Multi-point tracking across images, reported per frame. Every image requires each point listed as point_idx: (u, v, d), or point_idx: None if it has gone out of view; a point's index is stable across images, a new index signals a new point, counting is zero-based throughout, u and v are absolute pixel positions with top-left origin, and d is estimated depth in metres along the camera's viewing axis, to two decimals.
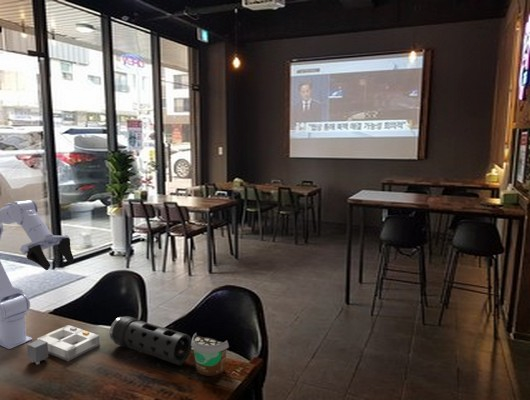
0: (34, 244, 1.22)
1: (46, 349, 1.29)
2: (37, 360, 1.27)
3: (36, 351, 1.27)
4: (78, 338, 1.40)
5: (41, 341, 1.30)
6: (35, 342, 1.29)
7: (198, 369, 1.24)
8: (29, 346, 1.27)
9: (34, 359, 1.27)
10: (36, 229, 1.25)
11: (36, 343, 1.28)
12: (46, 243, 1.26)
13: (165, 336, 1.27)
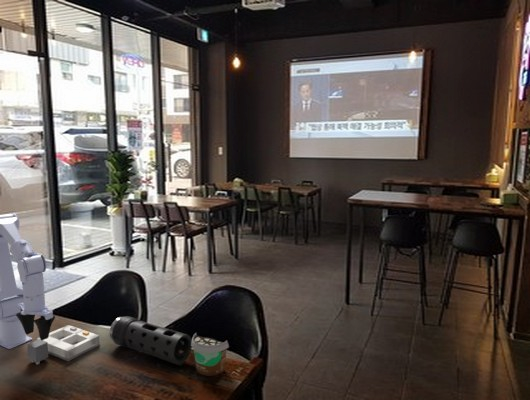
0: None
1: (46, 349, 1.29)
2: (37, 360, 1.27)
3: (36, 351, 1.27)
4: (78, 338, 1.40)
5: (41, 341, 1.30)
6: (35, 342, 1.29)
7: (198, 369, 1.24)
8: (29, 346, 1.27)
9: (34, 359, 1.27)
10: (23, 298, 1.25)
11: (36, 343, 1.28)
12: None
13: (165, 336, 1.27)
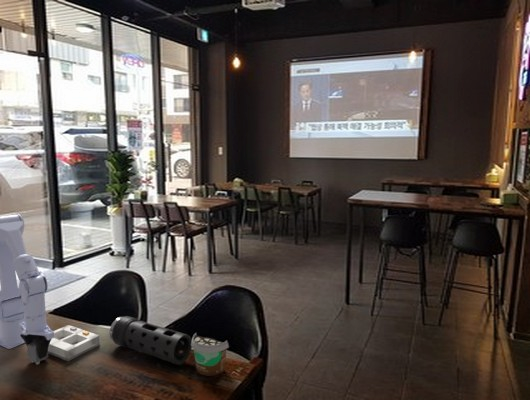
0: None
1: None
2: (37, 360, 1.27)
3: (36, 351, 1.27)
4: (78, 338, 1.40)
5: None
6: None
7: (198, 369, 1.24)
8: (29, 346, 1.27)
9: (34, 359, 1.27)
10: (24, 318, 1.26)
11: None
12: None
13: (165, 336, 1.27)
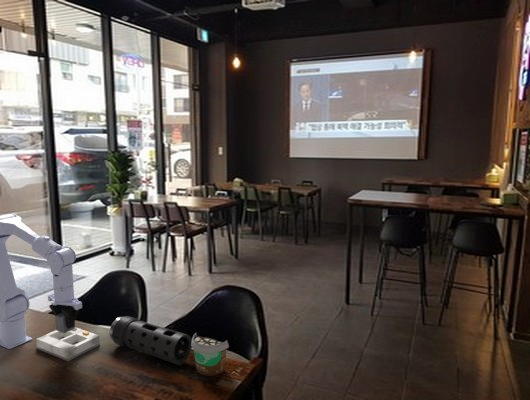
0: None
1: None
2: (65, 330, 1.32)
3: (64, 322, 1.31)
4: (78, 338, 1.40)
5: None
6: (62, 313, 1.34)
7: (198, 369, 1.24)
8: (57, 317, 1.32)
9: (62, 329, 1.32)
10: None
11: (63, 315, 1.33)
12: None
13: (165, 336, 1.27)
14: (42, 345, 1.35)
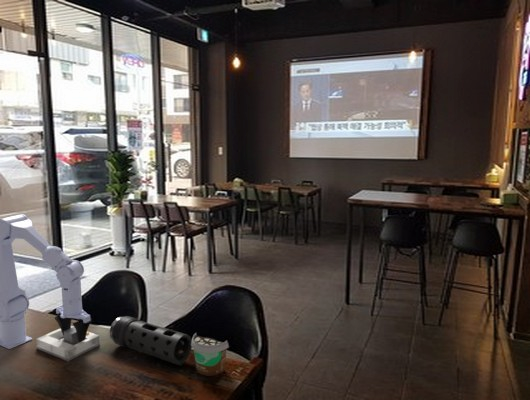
0: None
1: None
2: None
3: (72, 338, 1.34)
4: None
5: None
6: (71, 329, 1.36)
7: (198, 369, 1.24)
8: (65, 333, 1.35)
9: None
10: (62, 302, 1.33)
11: (72, 330, 1.36)
12: None
13: (165, 336, 1.27)
14: (42, 345, 1.35)
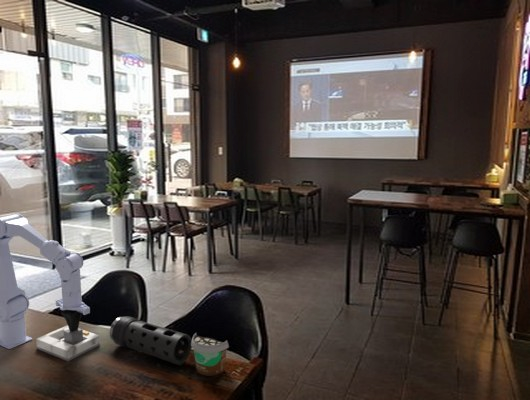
0: None
1: (81, 336, 1.37)
2: None
3: (72, 338, 1.34)
4: None
5: None
6: None
7: (198, 369, 1.24)
8: (66, 333, 1.35)
9: None
10: (62, 294, 1.33)
11: None
12: None
13: (165, 336, 1.27)
14: (42, 345, 1.35)
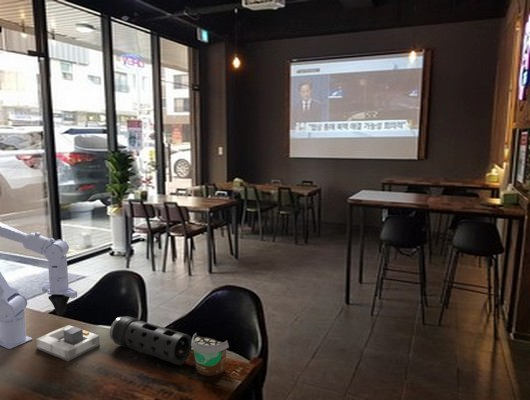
0: None
1: (81, 336, 1.37)
2: None
3: (72, 338, 1.34)
4: None
5: (76, 328, 1.37)
6: (71, 329, 1.36)
7: (198, 369, 1.24)
8: (65, 333, 1.35)
9: None
10: (49, 280, 1.39)
11: (72, 330, 1.36)
12: None
13: (165, 336, 1.27)
14: (42, 345, 1.35)
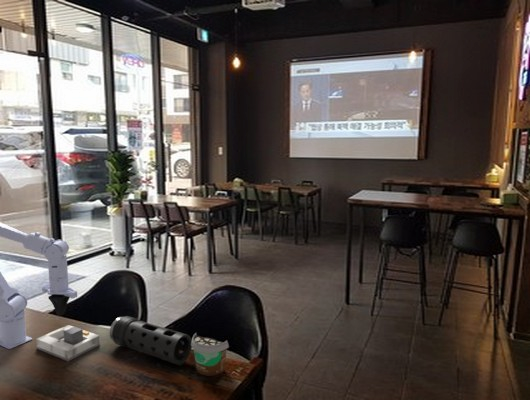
0: None
1: (81, 336, 1.37)
2: None
3: (72, 338, 1.34)
4: None
5: (76, 328, 1.37)
6: (71, 329, 1.36)
7: (198, 369, 1.24)
8: (65, 333, 1.35)
9: None
10: (49, 280, 1.39)
11: (72, 330, 1.36)
12: None
13: (165, 336, 1.27)
14: (42, 345, 1.35)
